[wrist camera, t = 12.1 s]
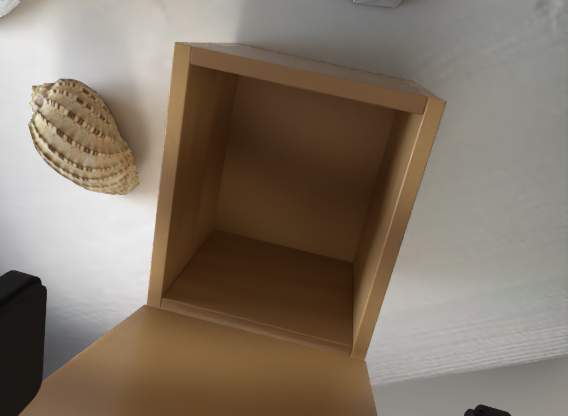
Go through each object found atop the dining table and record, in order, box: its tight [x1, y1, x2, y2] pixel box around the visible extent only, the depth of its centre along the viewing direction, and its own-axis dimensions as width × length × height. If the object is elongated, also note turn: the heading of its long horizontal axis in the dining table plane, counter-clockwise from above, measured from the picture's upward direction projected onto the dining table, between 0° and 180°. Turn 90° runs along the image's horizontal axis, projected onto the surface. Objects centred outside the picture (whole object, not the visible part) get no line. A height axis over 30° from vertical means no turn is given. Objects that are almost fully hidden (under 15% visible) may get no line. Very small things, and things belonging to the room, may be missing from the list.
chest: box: [147, 42, 446, 361], centre depth 31 cm, size 16×14×12 cm
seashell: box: [28, 79, 139, 195], centre depth 37 cm, size 8×6×10 cm
